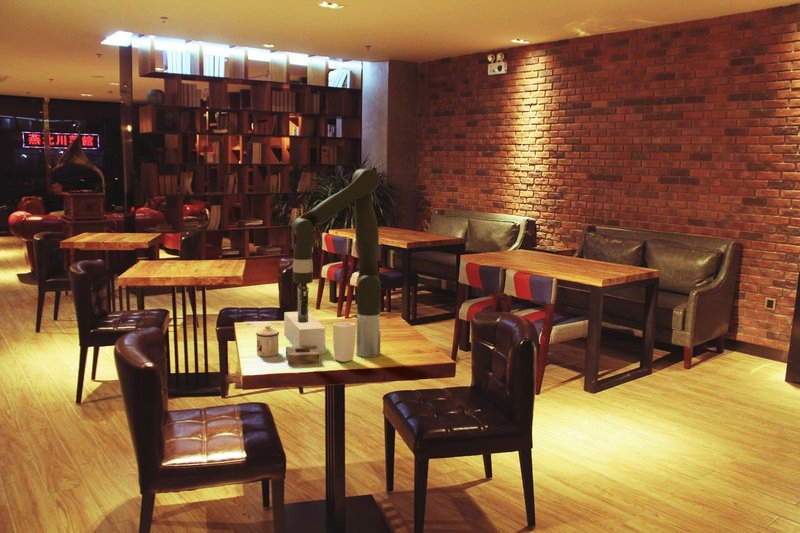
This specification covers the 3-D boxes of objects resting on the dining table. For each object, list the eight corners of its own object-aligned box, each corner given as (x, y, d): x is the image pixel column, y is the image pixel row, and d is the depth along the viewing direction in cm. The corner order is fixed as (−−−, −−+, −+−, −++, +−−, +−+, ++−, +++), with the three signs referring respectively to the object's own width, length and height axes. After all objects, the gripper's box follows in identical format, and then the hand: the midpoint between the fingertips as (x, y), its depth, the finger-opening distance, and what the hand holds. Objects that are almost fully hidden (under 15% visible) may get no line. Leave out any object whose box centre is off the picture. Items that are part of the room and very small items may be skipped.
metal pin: (307, 320, 276) (307, 290, 274) (308, 322, 272) (308, 292, 270) (297, 320, 275) (297, 290, 273) (298, 323, 271) (298, 292, 269)
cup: (330, 360, 277) (331, 323, 275) (345, 356, 282) (345, 320, 280) (342, 364, 272) (343, 327, 270) (356, 360, 277) (357, 324, 275)
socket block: (315, 355, 283) (315, 345, 283) (319, 363, 272) (319, 353, 271) (285, 356, 280) (285, 346, 280) (288, 365, 269) (288, 355, 268)
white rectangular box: (325, 353, 287) (325, 328, 285) (299, 355, 283) (299, 329, 281) (307, 334, 316) (307, 311, 315) (284, 335, 313) (284, 312, 311)
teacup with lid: (254, 351, 286) (254, 323, 284) (277, 349, 289) (277, 322, 287) (258, 359, 275) (258, 330, 273) (282, 358, 278) (282, 329, 276)
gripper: (314, 273, 264) (315, 317, 267) (310, 267, 278) (310, 309, 281) (294, 273, 262) (295, 318, 265) (291, 267, 276) (291, 310, 279)
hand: (303, 313), depth 273 cm, fingers closed on metal pin, 4 cm apart
